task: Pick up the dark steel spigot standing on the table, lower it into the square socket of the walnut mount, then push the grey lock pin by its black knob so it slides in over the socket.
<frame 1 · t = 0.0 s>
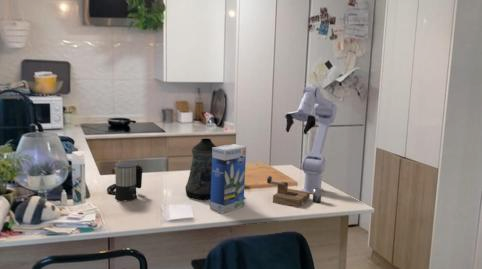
hand: (295, 131, 199), 32 cm above the counter, tool tilted 50°, fingers open, 7 cm apart
mount: (291, 200, 213), on the counter
lock pin: (275, 181, 215), point 7 cm above the counter, slide at 0.0 cm
string lights box: (226, 208, 199), on the counter
beer stein: (202, 194, 217), on the counter
spigot: (316, 201, 213), on the counter
milk frother: (121, 196, 209), on the counter
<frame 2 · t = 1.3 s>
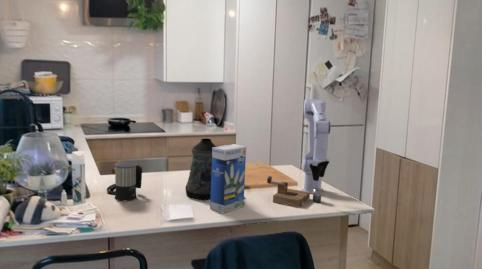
hand: (318, 178, 212), 10 cm above the counter, tool pointing down, fingers open, 7 cm apart
nothing on the counter moved.
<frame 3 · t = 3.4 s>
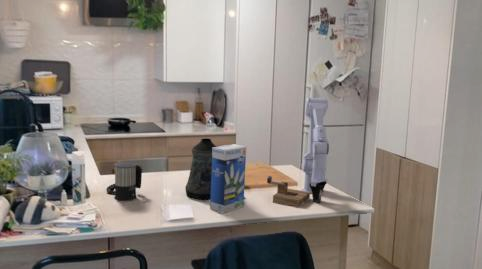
hand: (316, 198, 213), 1 cm above the counter, tool pointing down, fingers closed on spigot, 4 cm apart
spigot: (316, 201, 213), on the counter, touching gripper
everything else where it was.
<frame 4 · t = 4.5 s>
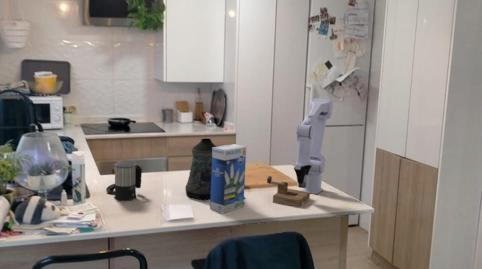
hand: (301, 182, 212), 8 cm above the counter, tool pointing down, fingers closed on spigot, 4 cm apart
spigot: (302, 186, 212), point 6 cm above the counter, touching gripper
everything else where it was.
when the fingers open (4 cm above the counter, at t = 6.0 s): spigot drops 2 cm, resting in mount.
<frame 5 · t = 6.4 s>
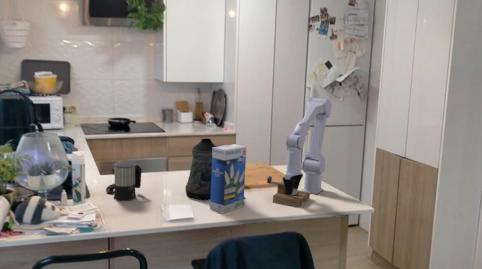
hand: (292, 191, 213), 4 cm above the counter, tool pointing down, fingers open, 7 cm apart
spigot: (292, 200, 213), resting in mount
everything else where it was.
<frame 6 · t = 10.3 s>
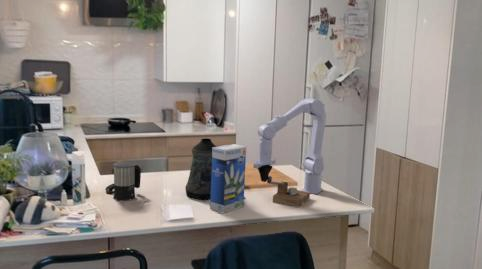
hand: (263, 181, 218), 6 cm above the counter, tool pointing down, fingers closed
lock pin: (275, 181, 215), point 7 cm above the counter, slide at 0.0 cm, touching gripper
everything else where it was.
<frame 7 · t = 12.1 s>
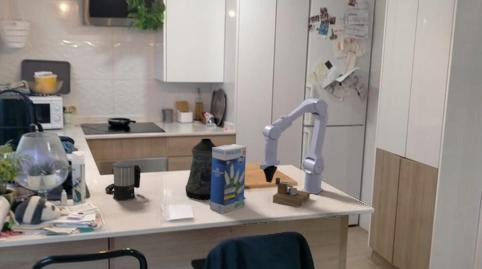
hand: (268, 182, 217), 7 cm above the counter, tool pointing down, fingers closed
lock pin: (284, 182, 214), point 7 cm above the counter, slide at 4.0 cm
everything else where it was.
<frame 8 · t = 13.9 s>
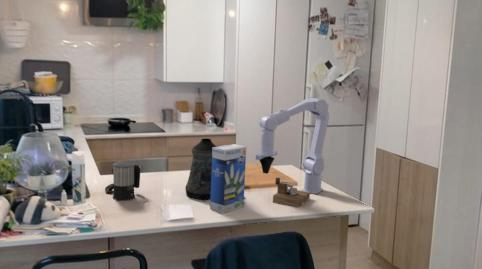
hand: (265, 173, 217), 10 cm above the counter, tool pointing down, fingers closed
at the end: spigot 0.4 cm off-centre on the mount, point 0.0 cm above the mount's base; spigot tilted 0°; lock pin slide at 4.0 cm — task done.
